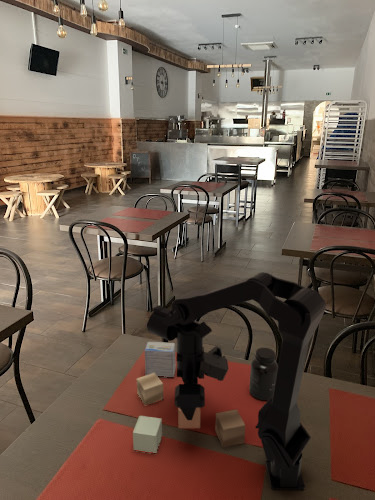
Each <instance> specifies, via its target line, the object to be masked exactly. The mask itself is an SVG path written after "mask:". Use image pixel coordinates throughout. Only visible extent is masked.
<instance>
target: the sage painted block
mask: <svg viewBox="0 0 375 500" xmlns="http://www.w3.org/2000/svg"><path fill="white" fill-rule="evenodd" d="M162 419H163V418H158V417H151V416H146V415H139V416H138V419H137V421H136V424H135V426H134V429H133V431H132V443H133V451H134V450H139V451H145V452H153V453H158V451H157V449H158V450H159V448H158V446H159V447H160V444H159V443H161V440H162V438H161V437H163V425H162V423H163V422H162V421H163V420H162ZM145 452H144V453H145Z"/></svg>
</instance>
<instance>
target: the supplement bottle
mask: <svg viewBox="0 0 375 500" xmlns="http://www.w3.org/2000/svg"><path fill="white" fill-rule="evenodd" d="M277 369H278V361H276V352H275V351H274V350H273V349H271V348H268V347H260V348H257V349H256V350H255V355H254V358H253V359H252V360H251V362H250V375H249V393H250V395H251V396H252V397H253V398H255V399H256V400H260V401H268V400H269V399H270V398H271V397H272V395H273V392H274V386H275V380H276V375H277Z"/></svg>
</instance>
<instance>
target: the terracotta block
mask: <svg viewBox="0 0 375 500" xmlns="http://www.w3.org/2000/svg"><path fill="white" fill-rule="evenodd" d="M177 412H178V413H177V414H178V415H177V418H178V422H177V423H178V424H177V425H178V427H177V428H178V429H201V408H196V410H195V413H194V416H193V419H192V420H187V419H186V417H185V416H184V414H183V412H182V411H181V409H180V408H179V407H177Z"/></svg>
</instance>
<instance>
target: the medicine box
mask: <svg viewBox="0 0 375 500" xmlns="http://www.w3.org/2000/svg"><path fill="white" fill-rule="evenodd" d="M144 367H145V369H144V370H145V376H146V375H149V374H152V373H155V374H156V375H157V376H164V377H163V378H167V377H175V374H176V370H177V362H176V343H175V342H163V341H161V342H160V341H159V342H158V341H147V343H146V345H145V348H144ZM165 376H166V377H165Z"/></svg>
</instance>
